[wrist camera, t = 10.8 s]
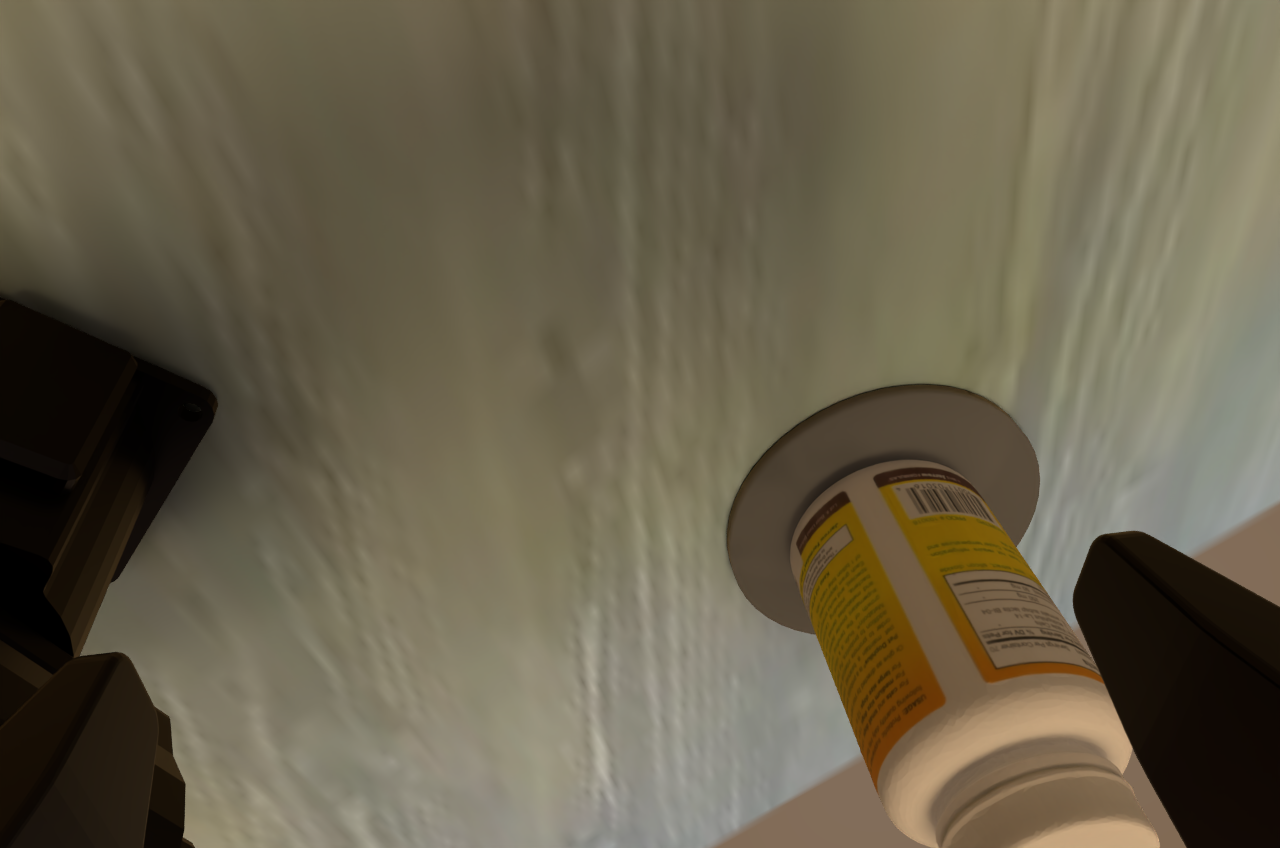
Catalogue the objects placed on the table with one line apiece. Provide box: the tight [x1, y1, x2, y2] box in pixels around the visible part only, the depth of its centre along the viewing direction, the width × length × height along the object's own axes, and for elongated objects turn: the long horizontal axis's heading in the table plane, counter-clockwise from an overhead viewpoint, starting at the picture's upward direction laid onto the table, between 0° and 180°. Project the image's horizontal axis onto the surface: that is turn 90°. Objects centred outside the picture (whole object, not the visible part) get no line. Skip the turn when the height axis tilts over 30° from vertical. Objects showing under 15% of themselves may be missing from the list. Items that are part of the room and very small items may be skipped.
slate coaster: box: [727, 384, 1040, 634], centre depth 27 cm, size 9×9×1 cm
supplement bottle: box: [790, 460, 1160, 848], centre depth 22 cm, size 6×6×10 cm
